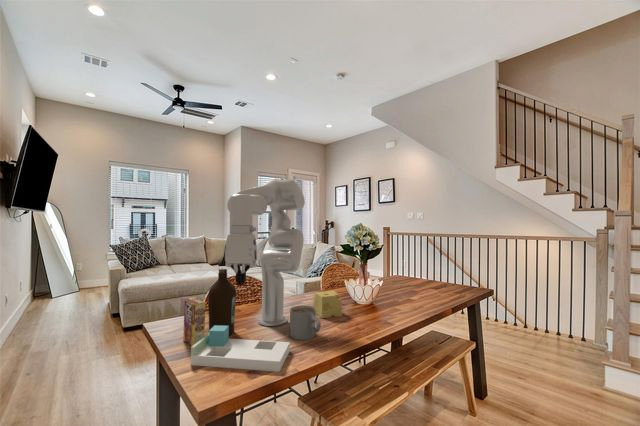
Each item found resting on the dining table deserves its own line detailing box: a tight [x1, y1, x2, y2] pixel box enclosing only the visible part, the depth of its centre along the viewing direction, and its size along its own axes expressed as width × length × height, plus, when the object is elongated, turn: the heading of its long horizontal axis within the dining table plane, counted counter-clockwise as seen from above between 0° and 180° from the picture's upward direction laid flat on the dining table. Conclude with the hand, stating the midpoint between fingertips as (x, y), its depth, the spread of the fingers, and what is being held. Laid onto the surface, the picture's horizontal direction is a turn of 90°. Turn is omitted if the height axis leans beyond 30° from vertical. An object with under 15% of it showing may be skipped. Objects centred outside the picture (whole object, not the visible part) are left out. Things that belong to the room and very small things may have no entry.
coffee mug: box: [289, 305, 322, 341], centre depth 116 cm, size 13×10×10 cm
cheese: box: [313, 290, 343, 319], centre depth 144 cm, size 10×11×10 cm
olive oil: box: [207, 268, 237, 336], centre depth 119 cm, size 11×11×25 cm
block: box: [208, 325, 230, 346], centre depth 102 cm, size 5×5×5 cm
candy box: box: [182, 297, 207, 347], centre depth 109 cm, size 9×4×15 cm, turn 47°
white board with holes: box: [190, 333, 291, 373], centre depth 98 cm, size 14×28×6 cm, turn 83°
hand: (240, 284), depth 102 cm, fingers closed
